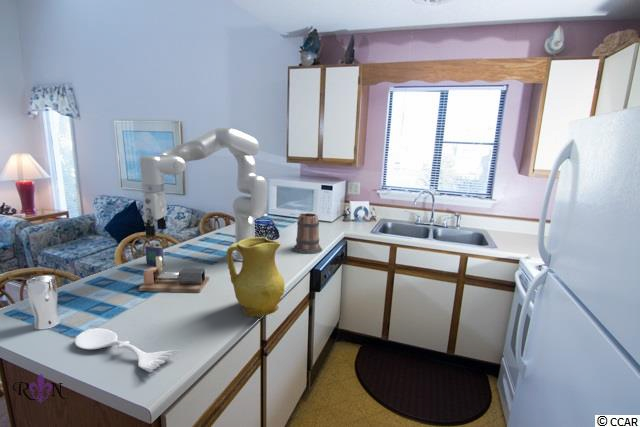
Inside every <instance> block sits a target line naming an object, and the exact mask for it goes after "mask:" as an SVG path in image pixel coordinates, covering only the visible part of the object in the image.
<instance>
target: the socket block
mask: <svg viewBox="0 0 640 427" xmlns="http://www.w3.org/2000/svg"><path fill="white" fill-rule="evenodd" d="M154 272H157V270H156V267H148V268H147V269H145V270H144V271H143V284H154V283H155V282H156V281H157V280H154V277H153V273H154Z"/></svg>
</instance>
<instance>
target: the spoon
mask: <svg viewBox="0 0 640 427" xmlns="http://www.w3.org/2000/svg"><path fill="white" fill-rule="evenodd" d="M73 342H74V344H75V346H76V347H78V348H80V349H83V350H86V351H87V350H88V351H89V350H98V349H99V350H100V349H102V348H107V347H110V346H117V349H128V350H130V351H132V353H133V354H134V356H136V357H137V362H138V363H137V365H138V367H139V368H140V369H143V370H144V371H146V372H148V373H152V372H154V370H156V369H157V367H158V368H159V367H160V366H161V365H162V364H165V363H166V361H168V360H170V359H171V357H174V356H175V354H178V353H179V352H180V351H179V350H178V349H170V350H161V351H154V352H145V351H143V350H141V349H140V348H139V347H136V346H134V345H133V344H130V341H128V340H124V341H121V340H118V334H117V333H116V332H115V331H112V330H111V329H107V328H100V327H99V328H98V327H95V328H90V329H86V330H84V331H82V332H80V333H79V334H78V335H77V336H75V338H74V341H73Z"/></svg>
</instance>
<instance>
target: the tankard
mask: <svg viewBox="0 0 640 427" xmlns="http://www.w3.org/2000/svg"><path fill="white" fill-rule="evenodd" d="M318 216H319V215H318V214H316V213H309V212H307V213H299V215H298V219H297V222H296V223H297V230H296V231H297V232H296V233H297V234H296V237H295V238H296V239H295V242H296V244H295V245H294V246H293V248H292V251H293V252H294V253H296V254H301V255H317V254H320V253H321V252H323V248H322V247H321V245H320V237H319V234H320V233H319V226H320V221H319V217H318Z"/></svg>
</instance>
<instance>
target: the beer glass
mask: <svg viewBox="0 0 640 427" xmlns="http://www.w3.org/2000/svg"><path fill="white" fill-rule="evenodd" d="M58 292H59V291H58V285H57V281H56V276H55V275H53V274H46V275H38V276H33V277H32V278H30V279H27V280H26V294H27V300H28V303H29V306H30V307H31V308H30V309H31V310H32V313H33V316H34V324H33V325H34V329H35V330H38V331H42V330H48V329H51V328H54V327H56V326H58V325H59V324H60V322H61V320H60V318H59V314H58V297H59V294H58Z"/></svg>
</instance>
